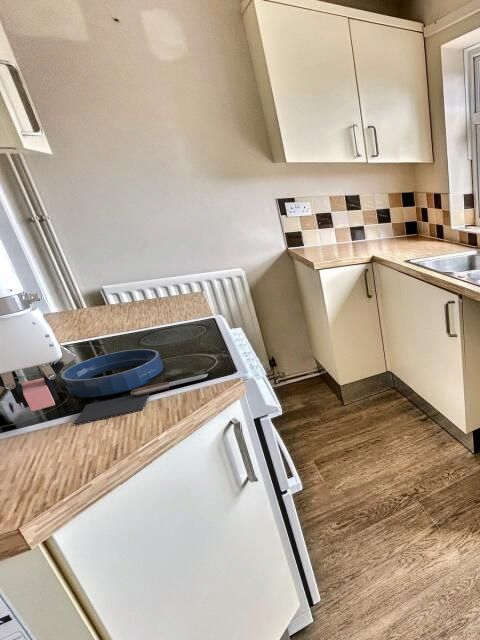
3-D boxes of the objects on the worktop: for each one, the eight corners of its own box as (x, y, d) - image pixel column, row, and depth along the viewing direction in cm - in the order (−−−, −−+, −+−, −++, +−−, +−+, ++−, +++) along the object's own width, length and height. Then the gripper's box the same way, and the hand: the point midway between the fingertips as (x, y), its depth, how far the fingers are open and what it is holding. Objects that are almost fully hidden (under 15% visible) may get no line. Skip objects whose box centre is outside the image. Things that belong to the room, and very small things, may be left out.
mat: (73, 425, 77) (72, 423, 77) (87, 406, 84) (86, 404, 84) (142, 410, 82) (141, 408, 82) (150, 393, 88) (149, 391, 88)
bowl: (58, 407, 83) (48, 387, 82) (83, 376, 96) (75, 358, 95) (158, 387, 91) (151, 368, 89) (170, 360, 104) (163, 344, 102)
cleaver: (207, 370, 96) (207, 373, 92) (209, 376, 97) (209, 379, 93) (131, 386, 89) (129, 391, 85) (134, 393, 89) (131, 397, 85)
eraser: (31, 411, 75) (23, 394, 74) (29, 399, 79) (21, 382, 78) (55, 405, 77) (47, 388, 76) (51, 393, 81) (44, 377, 80)
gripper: (61, 292, 79) (97, 379, 86) (-82, 313, 68) (-27, 411, 74) (66, 300, 75) (103, 391, 81) (-87, 323, 63) (-28, 427, 70)
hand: (41, 400), depth 78 cm, fingers closed on eraser, 3 cm apart
